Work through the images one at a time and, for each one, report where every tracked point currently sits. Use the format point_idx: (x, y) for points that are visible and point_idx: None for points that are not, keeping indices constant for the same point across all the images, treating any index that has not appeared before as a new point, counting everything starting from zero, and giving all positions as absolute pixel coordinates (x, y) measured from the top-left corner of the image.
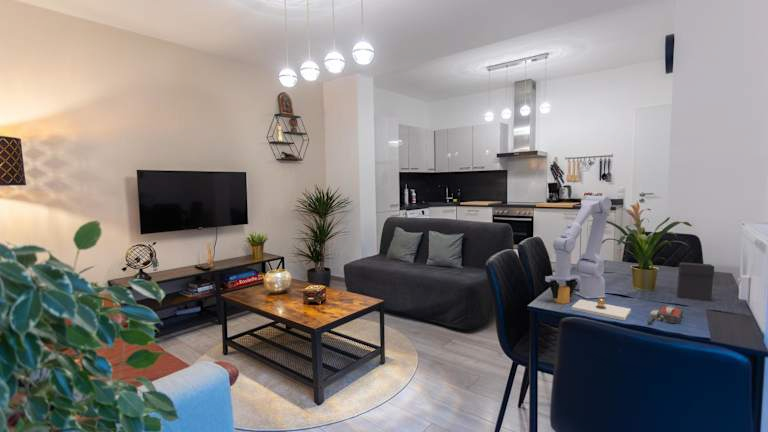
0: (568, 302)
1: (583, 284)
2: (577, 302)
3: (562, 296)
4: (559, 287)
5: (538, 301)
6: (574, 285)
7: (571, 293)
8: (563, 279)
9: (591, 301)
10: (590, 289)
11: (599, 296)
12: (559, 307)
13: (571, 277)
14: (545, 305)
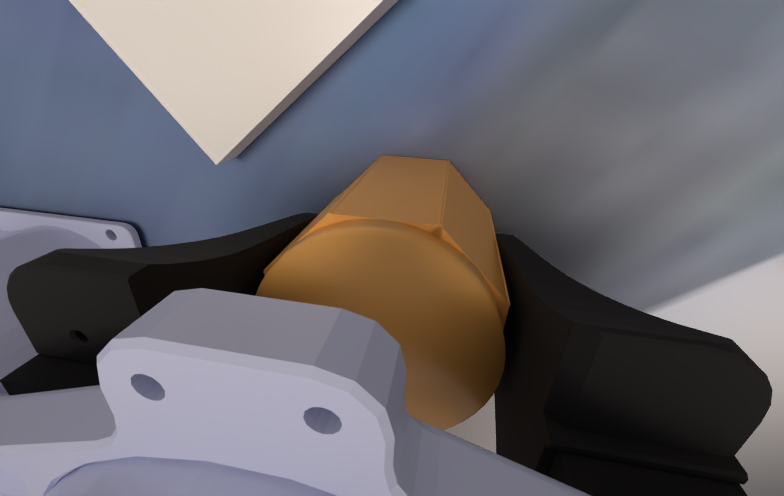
0: (380, 156)
1: (19, 359)
2: (310, 55)
3: (454, 197)
4: (489, 310)
5: (666, 297)
6: (157, 253)
7: (282, 223)
8: (440, 443)
9: (118, 53)
10: (2, 273)
11: (4, 220)
12: (621, 28)
13: (13, 445)
14: (733, 156)
